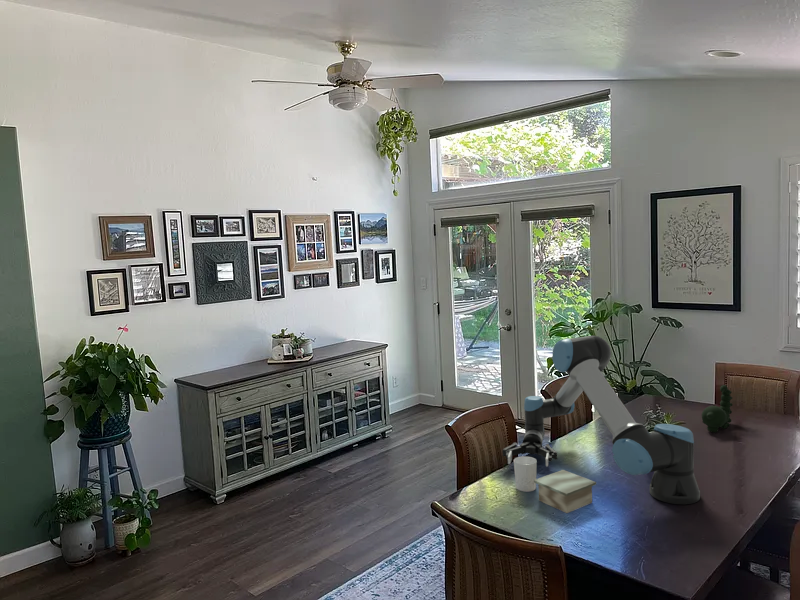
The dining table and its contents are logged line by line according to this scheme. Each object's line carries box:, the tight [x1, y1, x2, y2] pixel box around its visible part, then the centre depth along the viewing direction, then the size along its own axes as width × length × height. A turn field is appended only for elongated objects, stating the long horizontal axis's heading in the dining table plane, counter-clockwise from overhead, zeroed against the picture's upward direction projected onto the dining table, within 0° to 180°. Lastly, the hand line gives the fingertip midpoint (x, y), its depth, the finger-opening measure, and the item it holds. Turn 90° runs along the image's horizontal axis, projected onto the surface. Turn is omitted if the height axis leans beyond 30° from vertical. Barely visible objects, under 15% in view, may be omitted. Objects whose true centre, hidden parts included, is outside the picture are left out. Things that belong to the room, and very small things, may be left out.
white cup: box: [513, 455, 538, 493], centre depth 206 cm, size 8×8×10 cm
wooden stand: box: [534, 469, 597, 514], centre depth 193 cm, size 14×14×7 cm
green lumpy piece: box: [701, 384, 733, 433], centre depth 256 cm, size 9×19×25 cm
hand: (527, 461), depth 214 cm, fingers open, 13 cm apart
